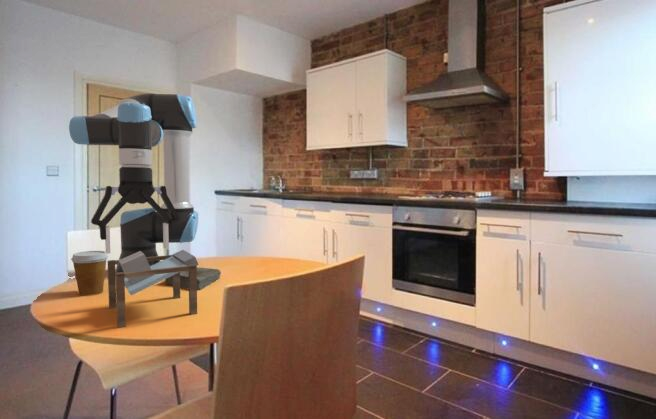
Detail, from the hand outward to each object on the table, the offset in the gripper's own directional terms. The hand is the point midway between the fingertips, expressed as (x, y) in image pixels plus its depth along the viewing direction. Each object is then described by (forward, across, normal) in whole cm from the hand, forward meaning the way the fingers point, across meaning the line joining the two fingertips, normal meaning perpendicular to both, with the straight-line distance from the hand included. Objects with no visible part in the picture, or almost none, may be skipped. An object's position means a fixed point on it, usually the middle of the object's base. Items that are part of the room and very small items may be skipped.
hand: (138, 250), depth 103 cm
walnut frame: (+16, +3, 0) cm, 16 cm away
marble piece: (+17, +20, +23) cm, 35 cm away
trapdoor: (+7, +5, 0) cm, 9 cm away
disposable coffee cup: (+16, -9, +27) cm, 33 cm away
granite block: (+7, 0, 0) cm, 7 cm away
